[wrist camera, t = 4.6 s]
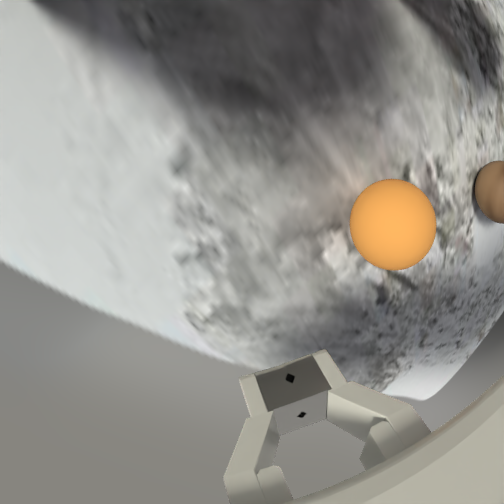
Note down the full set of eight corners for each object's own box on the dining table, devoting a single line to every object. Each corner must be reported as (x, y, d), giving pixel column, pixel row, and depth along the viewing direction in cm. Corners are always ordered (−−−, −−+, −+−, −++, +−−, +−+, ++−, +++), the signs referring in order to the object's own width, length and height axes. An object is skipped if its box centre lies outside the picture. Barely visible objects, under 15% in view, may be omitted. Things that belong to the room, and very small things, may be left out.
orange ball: (398, 165, 18) (457, 187, 13) (397, 236, 21) (446, 271, 16) (331, 177, 18) (386, 204, 13) (335, 255, 20) (380, 300, 15)
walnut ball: (494, 152, 20) (538, 168, 15) (490, 205, 23) (530, 226, 18) (465, 155, 19) (516, 173, 15) (461, 215, 22) (506, 240, 17)
